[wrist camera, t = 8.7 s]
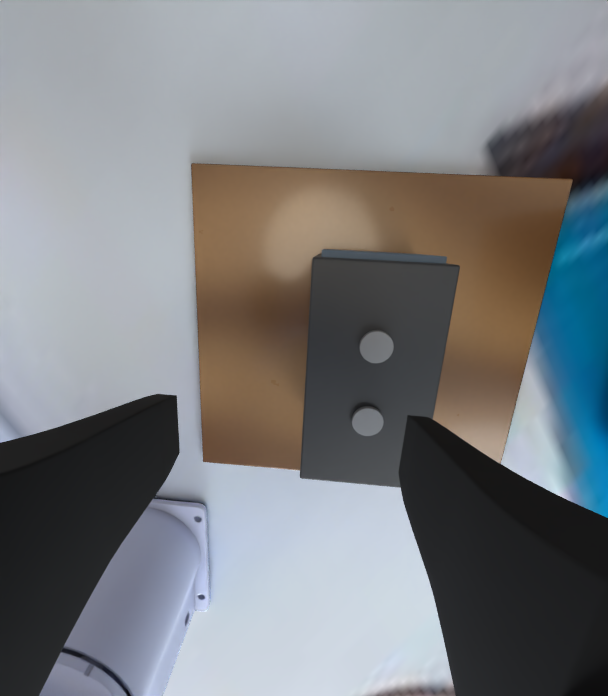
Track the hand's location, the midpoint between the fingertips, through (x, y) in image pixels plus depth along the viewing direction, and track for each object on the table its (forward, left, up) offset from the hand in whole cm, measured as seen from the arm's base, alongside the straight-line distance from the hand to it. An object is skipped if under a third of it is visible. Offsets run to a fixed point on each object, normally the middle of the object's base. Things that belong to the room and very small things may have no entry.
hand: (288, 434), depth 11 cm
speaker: (+1, -3, -9) cm, 9 cm away
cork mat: (+1, -3, -9) cm, 10 cm away
